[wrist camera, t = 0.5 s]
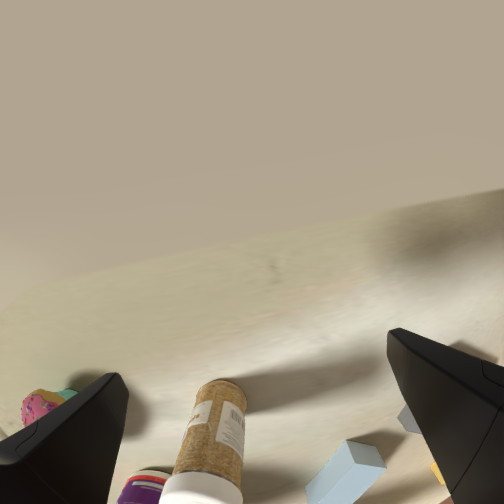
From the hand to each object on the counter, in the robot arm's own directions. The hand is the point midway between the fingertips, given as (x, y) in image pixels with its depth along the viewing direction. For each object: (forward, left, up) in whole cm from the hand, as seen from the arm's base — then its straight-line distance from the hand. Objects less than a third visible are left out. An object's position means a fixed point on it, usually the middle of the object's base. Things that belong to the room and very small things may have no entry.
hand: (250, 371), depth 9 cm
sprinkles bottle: (-11, -2, -15) cm, 19 cm away
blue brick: (-15, -17, -15) cm, 27 cm away
